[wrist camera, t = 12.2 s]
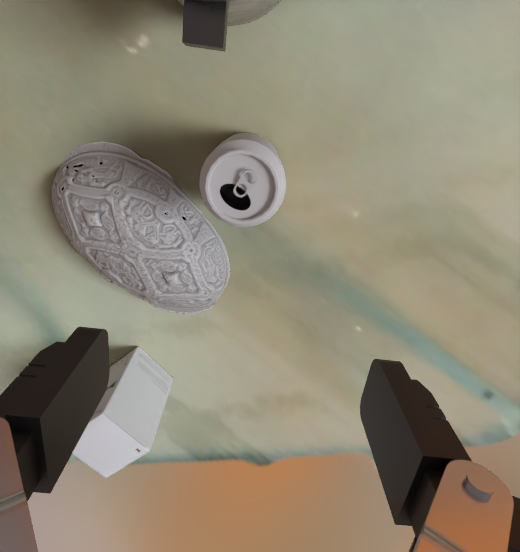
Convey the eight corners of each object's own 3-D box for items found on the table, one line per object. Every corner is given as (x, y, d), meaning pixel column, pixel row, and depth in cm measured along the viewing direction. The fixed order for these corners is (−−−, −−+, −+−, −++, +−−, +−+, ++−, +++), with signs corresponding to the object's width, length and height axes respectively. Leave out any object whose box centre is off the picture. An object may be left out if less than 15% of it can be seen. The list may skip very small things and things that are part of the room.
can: (199, 175, 43) (178, 198, 32) (238, 116, 40) (230, 120, 29) (254, 214, 45) (252, 249, 34) (294, 160, 42) (306, 179, 31)
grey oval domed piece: (92, 104, 40) (61, 113, 34) (265, 256, 48) (264, 284, 42) (24, 206, 46) (-13, 229, 40) (188, 326, 54) (177, 359, 48)
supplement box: (138, 343, 52) (102, 412, 40) (175, 379, 54) (152, 453, 43) (100, 370, 54) (55, 443, 42) (137, 404, 56) (105, 481, 44)
